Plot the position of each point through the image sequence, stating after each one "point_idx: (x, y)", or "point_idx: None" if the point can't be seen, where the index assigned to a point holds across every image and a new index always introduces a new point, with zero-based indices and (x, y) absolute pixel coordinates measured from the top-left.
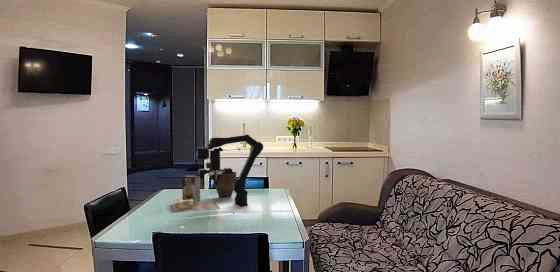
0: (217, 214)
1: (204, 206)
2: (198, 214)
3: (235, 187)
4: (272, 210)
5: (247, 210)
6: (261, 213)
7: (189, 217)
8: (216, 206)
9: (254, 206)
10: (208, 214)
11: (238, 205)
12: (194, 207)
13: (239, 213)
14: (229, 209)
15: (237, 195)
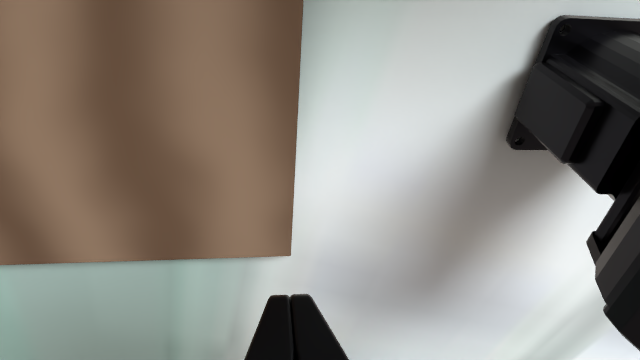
0: (241, 326)
1: (111, 104)
2: (76, 299)
3: (637, 339)
4: None
5: (493, 284)
6: (519, 355)
7: (11, 350)
8: (270, 153)
9: None
10: (168, 314)
11: (520, 149)
12: None
13: (400, 333)
14: (380, 223)
15: (602, 191)
